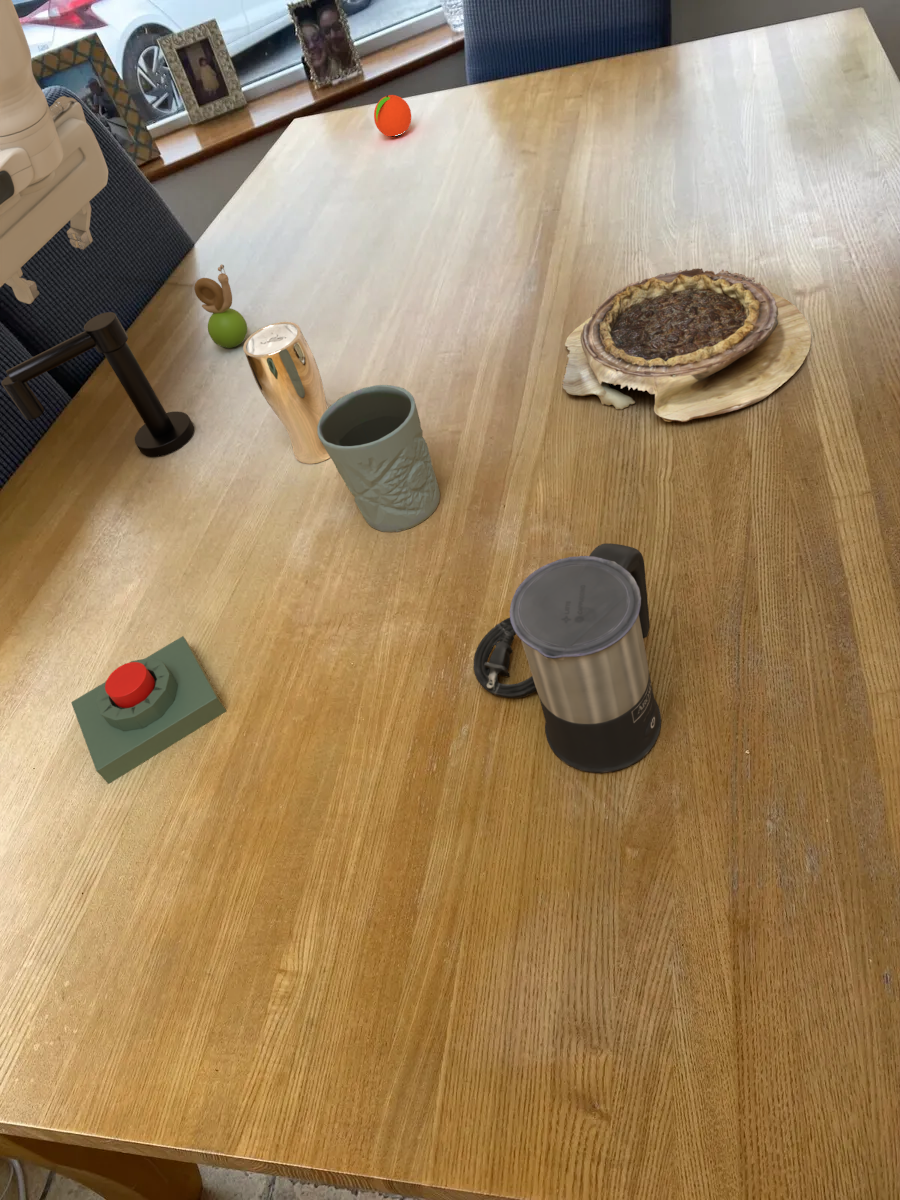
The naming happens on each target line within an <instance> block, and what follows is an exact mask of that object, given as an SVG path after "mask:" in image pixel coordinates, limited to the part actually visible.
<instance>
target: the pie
mask: <svg viewBox="0 0 900 1200" xmlns="http://www.w3.org/2000/svg"><path fill="white" fill-rule="evenodd" d="M755 278H756V277H754V276H753V277H750V276H749V277H747V276H746V275H745V274H742V273H739V272H733V273H732V272H730V271H728V270H724V269H721V271H719V272H717V273H715V271H713V270H703V268H702V267H701V268H699V267H698V268H692V269H689V270H688V269H685V270H682V269H680V270H678V271H672V272H665V273H660V274H658V275H656V276H653V277H650V278H644V279H643V280H641V281H640V282H639V281H638V280H637V281H635V282H632V283H629V284H628V285H625V286H623V287H621V288H619V289H618V290H616V291H615V292H613V293H611V294H610V295H608V296H607V297H605V299H604V300H603V301H602V302H601V303H600V305H598V307H597V308H596V309H595V312H594V313H593V314H592V315H591V316H590V317H588V318H587V319H586V320H585V321H584V322H582V323H581V324H580V325H578V327H576V328H575V329H574V330H573V331H572V332H571V333H569V335H568V336H567V338H566V340H565V342H564V346H565V347H567V350H568V351H569V352H568V354H567V355H566V356H567V358H568V360H567V363H566V366H565V374H564V376H563V379H562V384H561V385H562V388H563V389H564V391H565V392H566V394H569V395H572V396H580V397H585V396H590V395H591V396H592V395H596V396H597V397H598V398H599V400H600V403H601V404H600V405H602V406H604V405H605V406H613V407H614V408H615V410H623V409H625V408H628V407H630V405H634V404H636V401H635V400H634V399H633V397H631V396H629V395H627V394H624V393H623V392H621V391H619V390H618V389H615V388H613V387H610V385H611V384H612V385H613V386H616V385H620V389H623V388H625V387H627V388H628V390H630V389H631V388H632V390H633V391H635V390H636V389H637V391H642V392H643V393H644V392H645V391H647V393H648V394H650V395H654V405H653V411H654V414H655V415H656V416H658V417H659V418H661V419H662V420H663V421H664V422H669V423H670V422H675V421H676V422H680V423H687V422H689V421H691V420H695V419H702V418H707V417H713V416H718V415H723V414H726V413H730V412H735V411H737V410H740V409H744V408H746V407H749V406H752V405H754V404H756V403H758V402H760V401H762V400H764V399H766V398H767V397H769V395H771V394H772V393H773V392H775V391H776V390H777V389H779V387H781V386H782V385H783V384H784V383H786V382H787V381H788V380H789V379H790V378H791V377H792V376H794V375H795V374H796V372H797V371H798V370H799V369H800V368H801V366H802V365H803V363H804V362H805V359H806V358H807V356H808V354H809V352H810V349H811V345H812V344H811V343H812V333H811V328H810V326H809V322H808V320H807V319H806V317H805V316H804V314H803V313H802V312H801V311H800V309H799V308H798V307H797V306H796V305H794V304H793V303H792V302H791V301H790V300H788V299H786V298H784V297H783V296H781V295H778V294H776V293H773V292H771V290H770V289H769V288H768V287H767V286H765V285H764V284H762V283H761V282H760V281H759V282H756V280H755ZM755 282H756V283H755ZM609 384H610V385H609Z"/></svg>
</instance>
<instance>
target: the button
mask: <svg viewBox="0 0 900 1200" xmlns="http://www.w3.org/2000/svg"><path fill="white" fill-rule="evenodd" d="M129 662H130V663H129ZM129 662H127V663H123V664H122V665H120V666H117V668H115V669H114V670H113V671H112V672H111V673H110V674H109V675H108V677H107V679H106V680H107V681H106V680H105V681H106V684H105V690H106V693H107V694H108V695H109V696H110V698H111V699H112V700H113V701H114V702H115V704H116V705H117V706H119V707H122V708H130V707H134V706H135V705H137V704H139V703H140V702H142V701H144V700H145V699H146V698H147V697H148V696H149V695H150V693H151V692H152V691H153V690H154V687H155V680H154V678H153V676H152V675H151V674H150V672H149V671H148V670H147V668H146V667H145V666H144V665H143V664H141V663H139V662H131V661H129Z"/></svg>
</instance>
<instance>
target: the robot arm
mask: <svg viewBox="0 0 900 1200" xmlns="http://www.w3.org/2000/svg"><path fill="white" fill-rule="evenodd" d="M19 17H20V16H19V15H18V13H17V10H16V7H15V6H14V2H13V0H0V288H2V287H3V286H4V285H5V284H6V285H7V286H8V287H11V289H12V292H13V294H14V296H15V298H16V300H18V301H19V302H21V303H24V304H28V305H31V304H32V303H33V302H34V301H35V300H36V299H37V298H38V297H39V296H40V291H39V290H38V285H37V283H36V282H35V281H33V280H30V279H28V280H27V279H26V278H25V277H24V278H23V277H22V276H23V274H24V273H23V270H22V267H23V266H24V265H25V264H26V263H27V262H28V261H29V260H31V259H32V258H33V257H34V255H35V254H37V253H38V252H39V251H40V250H41V249H42V248H43V247H44V246H45V245H46V244H47V243H48V242H49V241H50V240H51V239H52V238H53V237H54V236H55V235H56V234H58V232H59V231H60V230H61V229H62V228H64V227H65V226H66V225H67V224H68V223H69V222H70V227H69V229H67V231H66V235H67V238H68V239H69V243H70V244H71V246H72V247H73V248H75V249H80V250H82V251H84V250H86V248H88V247H89V246H90V245H91V244H92V243H93V241H94V240H93V237H92V233H91V230H90V227H91V217H92V206H91V201H92V199H94V198H95V196H97V195H98V194H99V193H100V192H101V191H102V190H103V189H104V188H105V187H107V184H108V179H109V168H108V165H107V163H106V159H105V157H104V154H103V151H102V149H101V147H100V144H99V142H98V140H97V138H96V135H95V133H94V131H93V130H92V127H91V126H90V125H89V124H88V122H87V120H86V116H85V112H84V110H83V106H82V105H81V103H80V102H78V100H76V99H75V98H73V97H67V96H66V95H63V96H60V97H58V98H57V99H56V100H54V102H53V104H51V105H50V106H49V103H48V101H47V97H46V95H45V93H44V91H43V89H42V88H41V86H40V85H39V83H38V82H37V80H36V78H35V75H34V73H33V68H32V67H33V66H32V53H31V49H30V46H29V43H28V40H27V37H26V34H25V32H24V29H23V26H22V22H21V21H20V18H19Z"/></svg>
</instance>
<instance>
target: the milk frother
mask: <svg viewBox="0 0 900 1200" xmlns="http://www.w3.org/2000/svg"><path fill="white" fill-rule="evenodd" d="M648 602H649V601H648V591H647V580H646V567H645V559H644V556H643V553H642V552H641V551H640V550H639V549H637V548H636V547H632V546H629V545H624V544H618V543H612V542H611V543H609V542H608V543H606V542H605V543H601V544H599V545H597V546H596V547H595V548H594V549H593V550H592V551H591V553H590V554H589V555H584V556H583V555H578V556H568V557H564V558H560V559H559V558H558V559H557V560H555V561H552V562H549V563H547V564H545V565H543V566H541V567H539V568H538V569H536V570H534V571H533V572H531V573H530V574H529V575H528V576H527V577H525V579H524V580H523V581H522V582H521V583H520V584H519V586H518V587H517V588H516V589H515V591H514V594H513V596H512V599H511V603H510V606H509V607H510V608H509V617H507V618H506V619H505V618H504V619H503V620H502V621H500V622H499V623H497V624H495V626H493V628H491V629H490V630H489V631H488V632H487V633H486V634H484V636H483V637H482V640H481V641H480V642H479V643H478V645H477V647H476V650H475V652H474V655H473V656H474V657H473V673H474V676H475V678H476V680H477V682H478V684H479V685H480V686H481V687H482V688H483V689H484V690H485V691H487V692H488V693H489V694H492V695H493V696H496V697H501V698H505V699H520V698H525V697H527V696H530V695H532V694H534V693H536V692H537V696H538V699H539V702H540V705H541V709H542V713H543V717H544V721H545V723H544V724H545V725H544V734H545V737H546V741H547V743H548V745H549V747H550V749H551V751H552V752H553V753H554V755H555V756H556V757H557V758H558V759H559V760H560V761H562V762H563V763H565V764H566V765H567V766H569V767H571V768H574V769H576V770H579V771H581V772H587V773H593V774H594V773H596V774H603V773H612V772H617V771H620V770H624V769H627V768H629V767H630V766H633V765H635V764H636V763H638V762H639V761H641V760H642V759H644V757H645V756H647V754H649V752H650V751H651V750H652V749H653V747H654V746H655V744H656V742H657V741H658V737H659V735H660V732H661V728H662V716H661V715H662V714H661V710H660V707H659V704H658V702H657V700H656V698H655V695H654V691H653V686H652V680H651V676H650V675H651V674H650V669H649V664H648V663H649V662H648V657H647V652H646V646H645V641H644V639H646V638H647V637H648V636H649V632H650V627H651V624H650V612H649V603H648ZM515 635H516V636H517V637H518V638H519V640H520V642H521V645H522V649H523V651H524V654H525V657H526V660H527V663H528V667H529V670H530V673H531V676H530V677H528V678H526V679H525V680H522V681H520V682H517V683H512V684H510V683H502V682H499V677H500V676H502V677H505V678H510V675H511V674H510V672H509V668H510V661H511V654H512V653H513V650H514V649H512V648H513V647H512V644H513V642H514V641H515ZM489 657H490V658H489Z"/></svg>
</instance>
